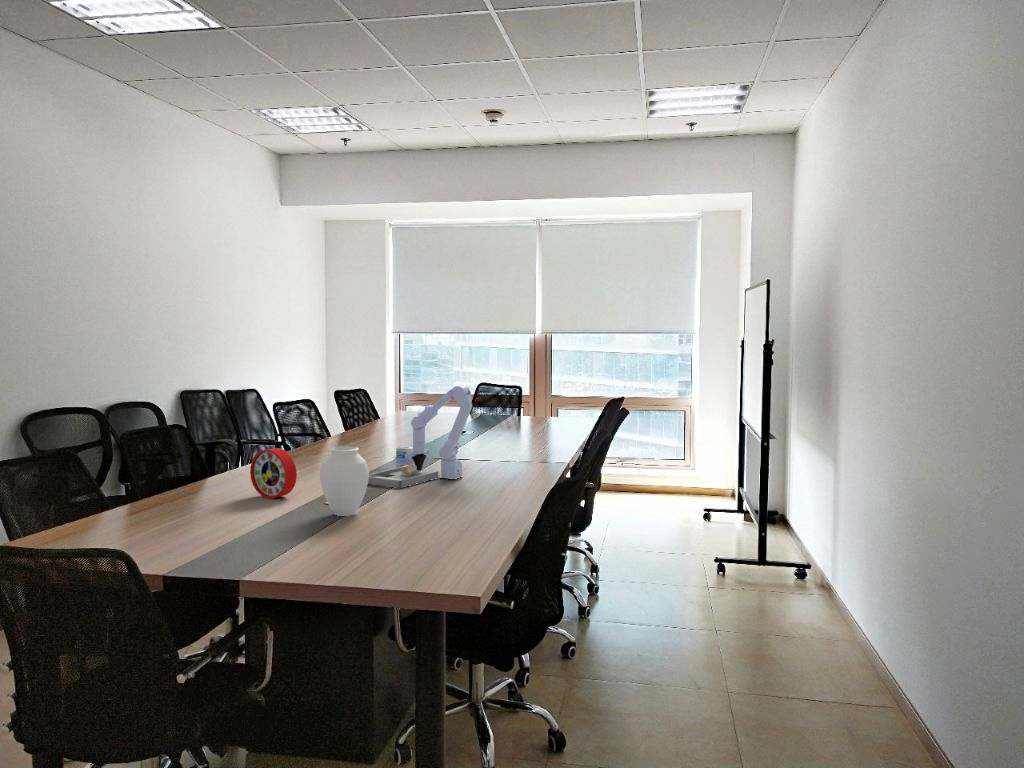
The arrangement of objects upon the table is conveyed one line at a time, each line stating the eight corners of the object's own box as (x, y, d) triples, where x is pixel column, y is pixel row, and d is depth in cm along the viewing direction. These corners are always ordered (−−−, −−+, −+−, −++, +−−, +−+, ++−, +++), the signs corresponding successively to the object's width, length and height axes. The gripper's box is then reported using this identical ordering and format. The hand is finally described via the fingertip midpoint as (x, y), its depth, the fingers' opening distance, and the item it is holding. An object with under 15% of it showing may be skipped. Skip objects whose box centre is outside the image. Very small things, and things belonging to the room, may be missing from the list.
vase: (321, 521, 276) (320, 452, 275) (319, 510, 293) (319, 445, 292) (371, 518, 281) (370, 450, 279) (367, 507, 298) (366, 443, 296)
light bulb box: (395, 469, 384) (395, 447, 383) (401, 466, 390) (401, 445, 390) (415, 470, 381) (415, 448, 380) (420, 468, 387) (420, 446, 387)
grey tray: (438, 478, 359) (438, 471, 359) (400, 488, 335) (400, 480, 335) (401, 474, 370) (401, 466, 370) (361, 483, 346) (361, 475, 346)
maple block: (416, 474, 358) (416, 465, 358) (409, 476, 354) (409, 467, 354) (408, 473, 361) (408, 465, 361) (401, 475, 357) (401, 466, 356)
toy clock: (250, 496, 319) (249, 448, 318) (261, 493, 324) (260, 446, 323) (286, 501, 310) (286, 451, 308) (297, 498, 315) (296, 449, 313)
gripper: (421, 439, 371) (421, 467, 372) (402, 442, 359) (402, 471, 360) (433, 440, 368) (433, 468, 369) (414, 444, 355) (414, 473, 356)
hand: (419, 470), depth 364 cm, fingers closed
